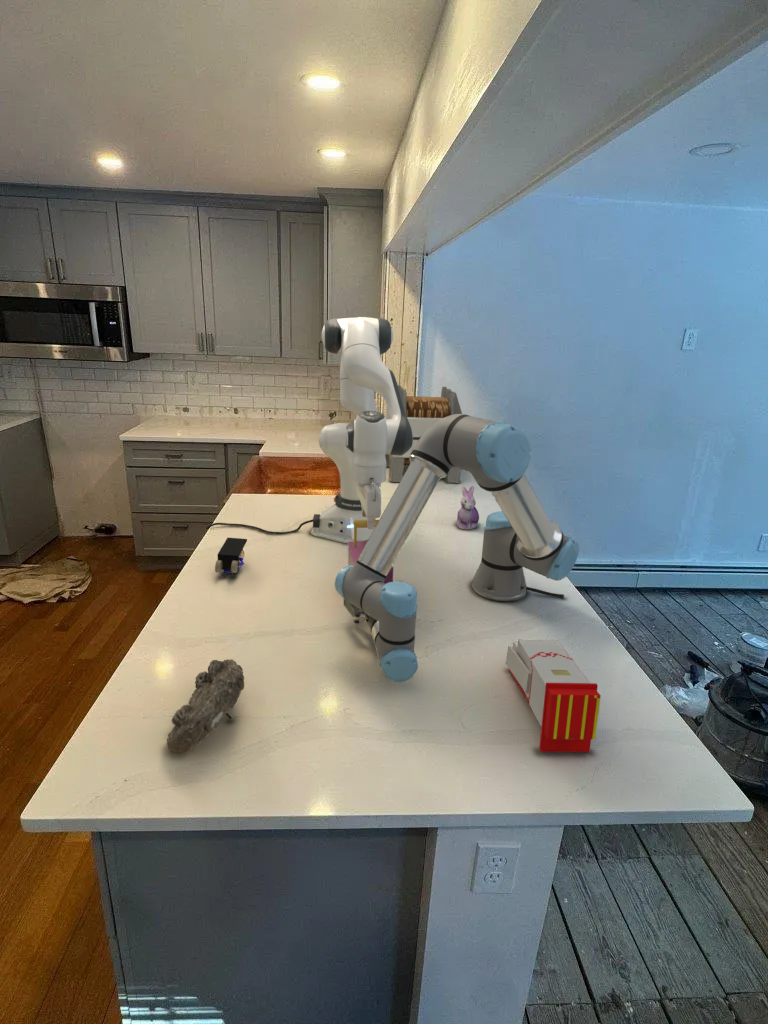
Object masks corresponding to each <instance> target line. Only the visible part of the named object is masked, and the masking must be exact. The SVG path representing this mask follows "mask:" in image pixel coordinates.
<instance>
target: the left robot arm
mask: <svg viewBox="0 0 768 1024" xmlns="http://www.w3.org/2000/svg"><path fill="white" fill-rule="evenodd" d="M393 339H394V331H393V328H392V325H391V323H390V321H389V320H388V319H386V318H381V317H377V318H376V317H375V318H374V317H368V316H357V317H342V318H341V317H340V318H337V317H333V318H329V319H327V320H326V321H325V322H324V323H323V327H322V330H321V342H322V344H323V346H324V349H325V350H326V352H328V353H331V354H335V355H337V354H341V357H340V363H339V394H340V395H339V401H340V404H341V406H342V407H343V408H344V409H345V410H347V411H349V412H350V413H353V414H354V415H355V416H356V418H355V419H353V420H352V421H350V422H337V423H331V424H327V425H324V427H322V429H321V430H320V432H319V435H318V444H319V447H320V450H321V451H322V452H323V454H325V455H326V456H327V457H329V458H330V459H331V460H332V462H333V463H334V464H335V466H336V467H337V470H338V474H339V483H340V484H339V485H340V488H339V489H340V490H339V491H338V492H337V494H336V495H335V496H334V497H333V502H334V504H333V505H331V506H329V507H328V508H326V509H325V510H323V512H321V514H320V513H315V514H313V518H312V519H310V520H306V521H304V522H303V521H302V523H300V524H299V525H298V527H297V528H296V529H293V530H291V531H271V530H266V529H263V528H261V527H257V526H255V525H249V524H243V523H227V522H213V523H211V524H209V525H208V526H206V528H205V530H208V529H210V528H211V527H214V526H228V527H229V526H231V527H245V528H251V529H254V530H258V531H260V532H262V533H266V534H270V535H271V534H273V535H286V534H292V533H296V532H298V531H300V530H301V528H302V527H303V526H304V525H306V524H309V523H312V528H311V530H310V533H311V536H315V537H319V538H323V539H326V540H330V541H336V542H339V543H343V544H348V542H354V526H353V522H354V520H367V528H357V541H368V540H369V538H370V536H371V534H372V532H373V530H374V529H375V527H374V523H375V520H377V519H380V518H381V516H382V491H381V488H380V487H381V486H382V485H381V484H382V483H385V482H386V480H387V477H386V476H387V466H386V458H385V454H390V455H397V456H402V455H403V454H405V453H406V452H407V451H408V450H409V449H410V448H411V447H412V443H413V433H412V429H411V426H410V423H409V421H408V419H407V416H406V413H405V409H404V406H403V402H402V399H401V395H400V391H399V388H398V385H399V384H398V381H397V379H396V377H395V374H394V372H393V370H392V369H390V368H388V367H387V366H386V365H385V363H384V362H383V360H382V355H383V354H385V353H386V352H388V351H389V350H390V349H391V345H392V344H393ZM375 393H376V394H379V395H380V396H381V397H382V398H383V399H384V400H385V405H386V409H387V408H388V412H389V416H390V419H386V415H385V414H384V413H382V412H380V411H379V410H378V408H377V405H376V401H375V400H376V399H375Z"/></svg>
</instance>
